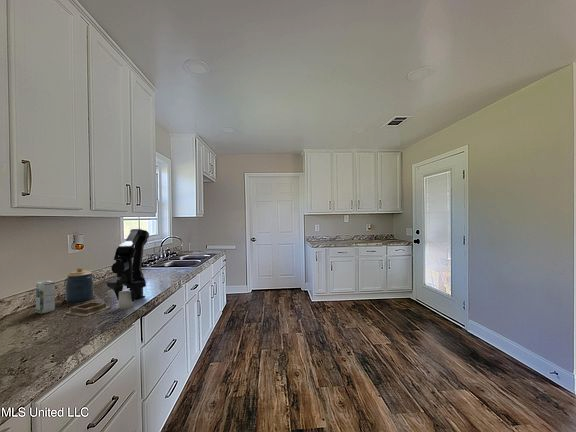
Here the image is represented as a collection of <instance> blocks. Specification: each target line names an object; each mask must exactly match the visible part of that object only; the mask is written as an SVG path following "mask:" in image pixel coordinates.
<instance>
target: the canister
mask: <svg viewBox="0 0 576 432" xmlns="http://www.w3.org/2000/svg"><path fill="white" fill-rule="evenodd" d="M66 276H67V278H65V279H64V281H65V282H66V283H65V285H64V288H65V298H64V299H65V302H66V303H67V302H68V303H77V302H83V301H87V300H88V301H89V300H90V299H92V298H94V295H95V292H94V287H95V286H94V283H95V282H94V277H95V276H94V275H93V272H92V271H90V270H85V269H83V268H82V267H77V269H76V271H70V272H69V273H68V274H67V275H66Z"/></svg>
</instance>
